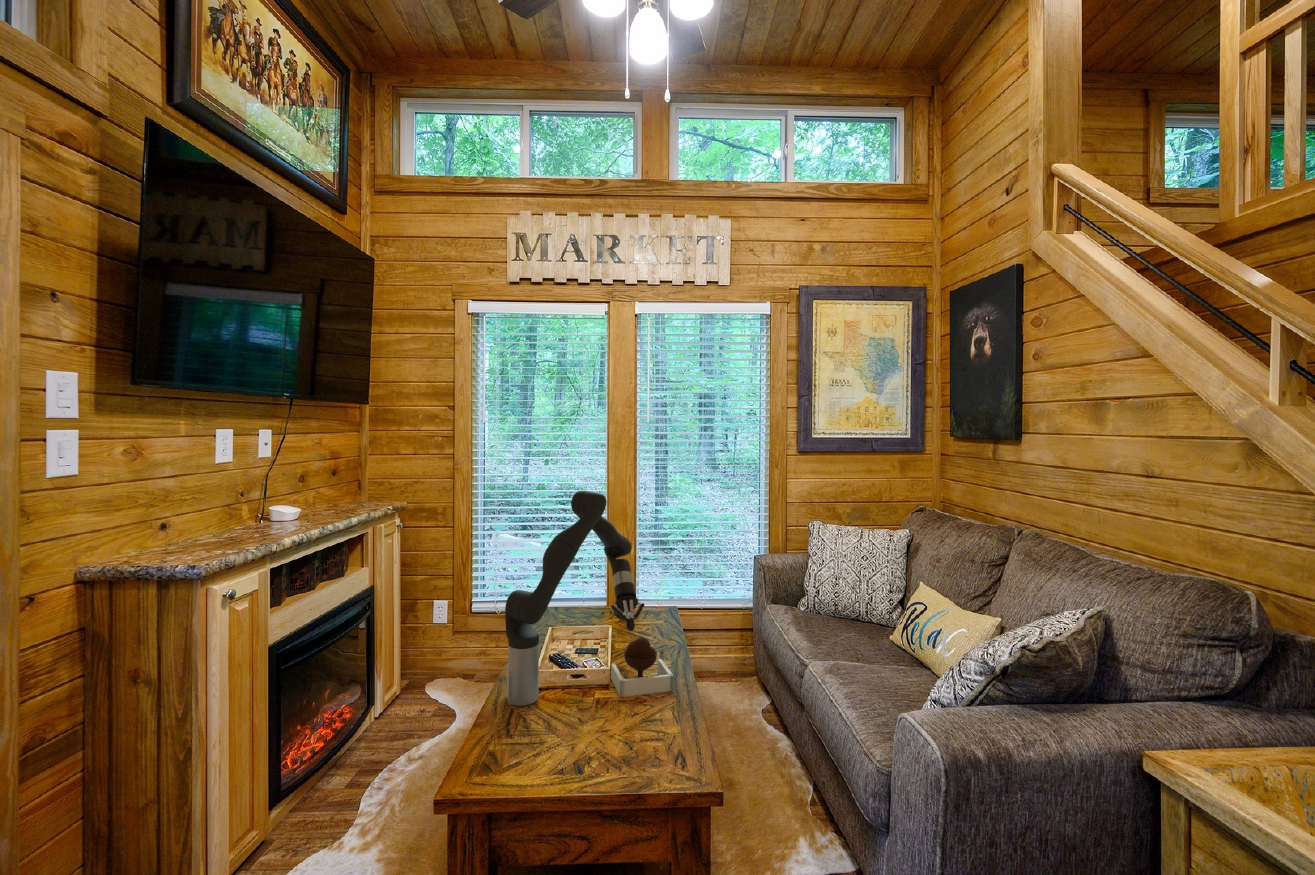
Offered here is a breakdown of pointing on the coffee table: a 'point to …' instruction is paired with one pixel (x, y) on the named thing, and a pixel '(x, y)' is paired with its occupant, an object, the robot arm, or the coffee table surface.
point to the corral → (643, 682)
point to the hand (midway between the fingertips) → (631, 630)
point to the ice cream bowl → (640, 655)
